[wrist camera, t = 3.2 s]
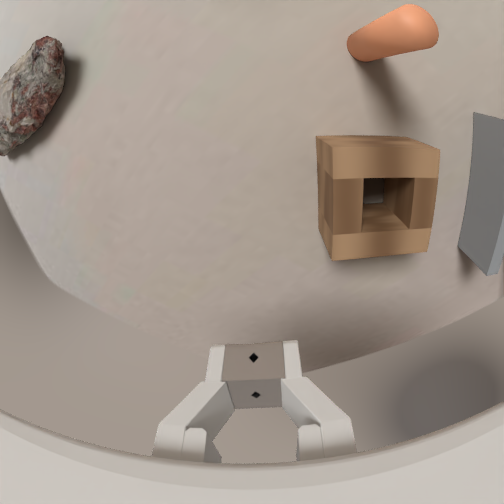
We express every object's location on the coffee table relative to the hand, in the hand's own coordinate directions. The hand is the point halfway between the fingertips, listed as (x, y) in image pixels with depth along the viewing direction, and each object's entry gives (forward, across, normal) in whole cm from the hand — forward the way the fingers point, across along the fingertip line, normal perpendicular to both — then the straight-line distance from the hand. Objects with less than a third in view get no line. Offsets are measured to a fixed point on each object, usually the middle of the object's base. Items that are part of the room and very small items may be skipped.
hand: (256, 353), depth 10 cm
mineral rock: (+19, +22, -14) cm, 33 cm away
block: (+19, -10, 0) cm, 21 cm away
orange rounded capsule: (+19, -11, -13) cm, 25 cm away
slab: (+19, -25, 0) cm, 31 cm away
